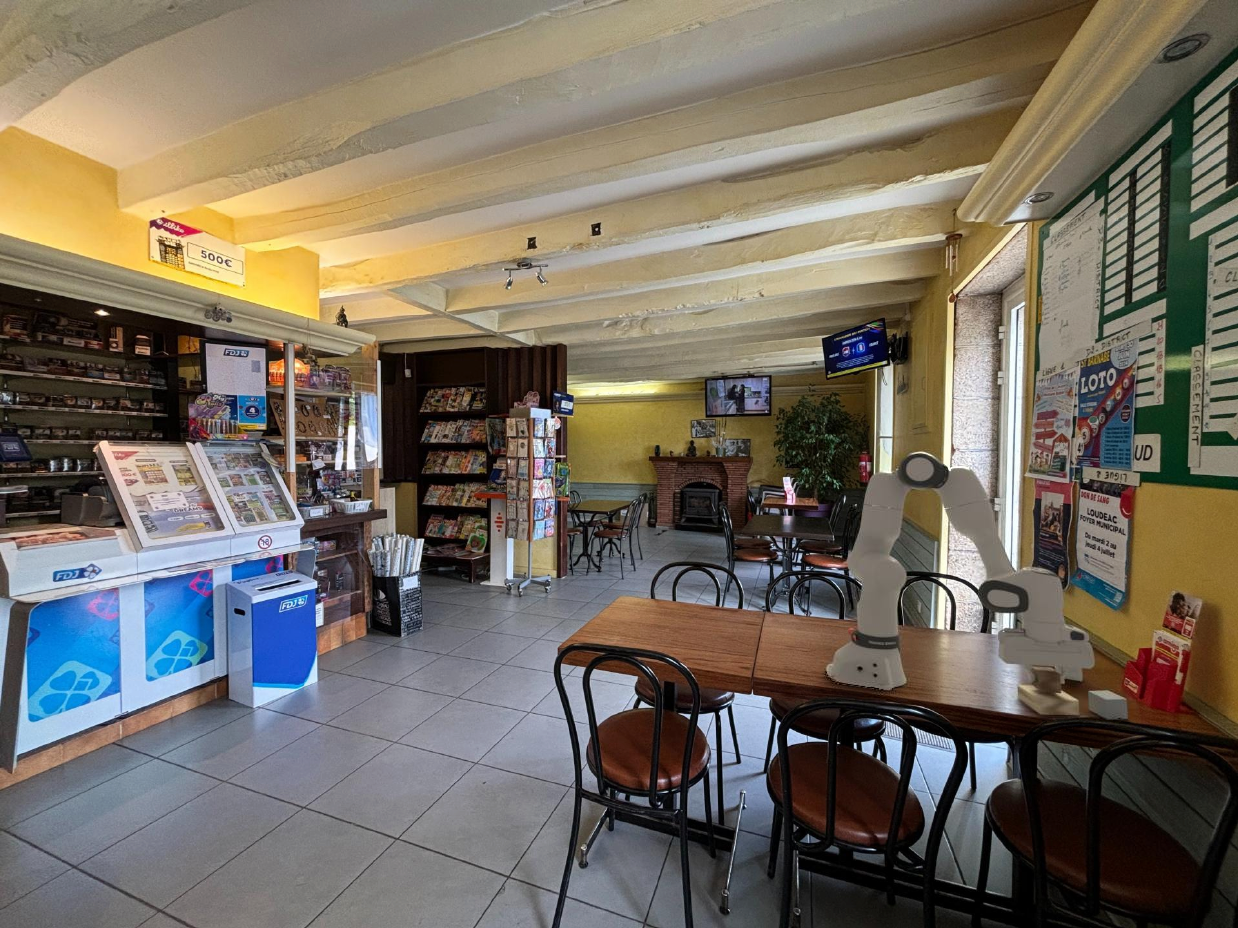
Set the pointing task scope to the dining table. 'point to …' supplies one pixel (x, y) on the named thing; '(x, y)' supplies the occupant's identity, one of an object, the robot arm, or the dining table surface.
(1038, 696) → the maple pedestal
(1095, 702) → the slate cube
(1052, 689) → the walnut block
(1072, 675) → the skincare box
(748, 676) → the dining table surface
